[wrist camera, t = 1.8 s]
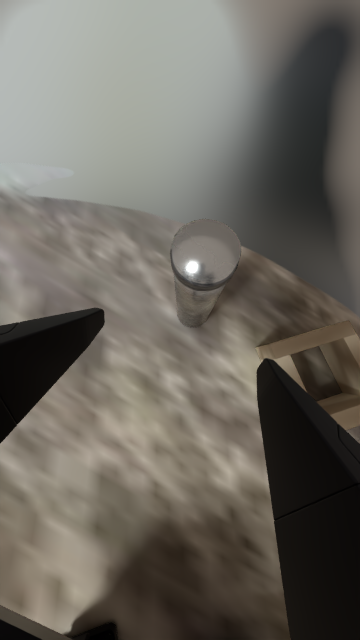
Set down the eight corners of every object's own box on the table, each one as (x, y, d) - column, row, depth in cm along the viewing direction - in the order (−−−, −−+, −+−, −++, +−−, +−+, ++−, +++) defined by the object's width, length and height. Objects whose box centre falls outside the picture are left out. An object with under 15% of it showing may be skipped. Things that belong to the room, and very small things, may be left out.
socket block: (361, 402, 19) (400, 410, 16) (287, 427, 18) (311, 442, 15) (322, 327, 21) (349, 320, 18) (255, 347, 21) (269, 344, 17)
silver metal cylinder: (213, 322, 21) (254, 269, 9) (181, 332, 21) (181, 289, 9) (202, 293, 22) (227, 211, 10) (172, 302, 22) (161, 227, 10)
